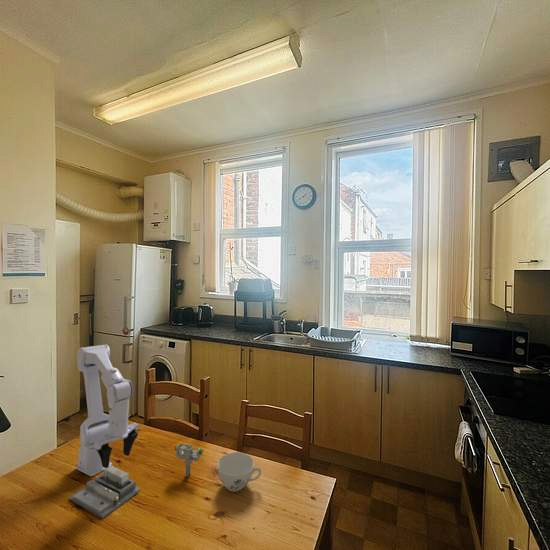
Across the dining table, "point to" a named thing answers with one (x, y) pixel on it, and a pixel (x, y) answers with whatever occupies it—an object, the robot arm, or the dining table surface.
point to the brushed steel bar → (116, 477)
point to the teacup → (236, 470)
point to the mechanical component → (187, 455)
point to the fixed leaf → (103, 496)
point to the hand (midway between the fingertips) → (116, 460)
